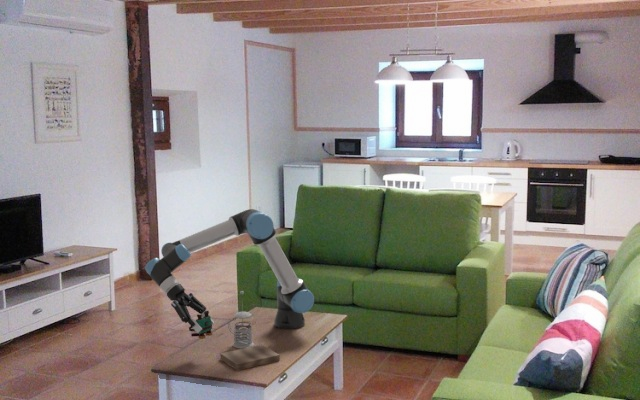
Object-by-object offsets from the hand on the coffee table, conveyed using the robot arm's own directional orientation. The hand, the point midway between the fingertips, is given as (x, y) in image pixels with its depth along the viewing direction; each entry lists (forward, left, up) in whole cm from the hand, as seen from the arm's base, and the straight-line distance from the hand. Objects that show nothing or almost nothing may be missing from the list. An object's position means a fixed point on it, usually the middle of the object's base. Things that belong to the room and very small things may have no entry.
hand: (206, 327), depth 293 cm
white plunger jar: (-20, -8, -14) cm, 26 cm away
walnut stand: (-14, +12, -13) cm, 23 cm away
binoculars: (+2, -3, -4) cm, 5 cm away
